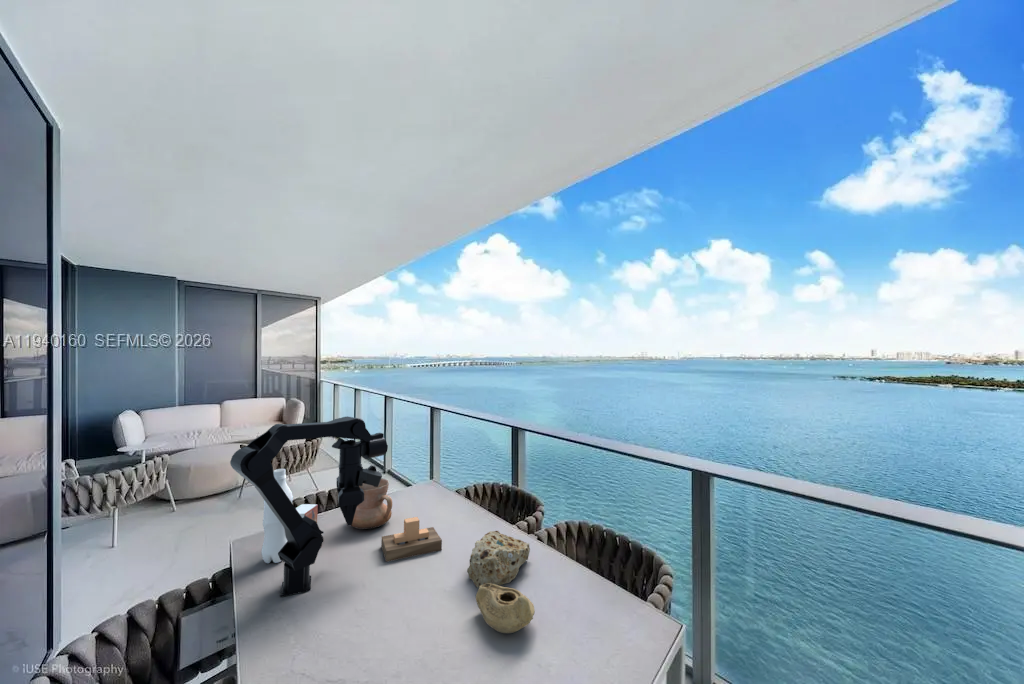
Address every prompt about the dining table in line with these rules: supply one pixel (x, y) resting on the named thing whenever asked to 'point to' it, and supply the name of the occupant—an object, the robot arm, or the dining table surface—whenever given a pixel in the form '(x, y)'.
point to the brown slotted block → (410, 546)
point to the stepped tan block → (411, 532)
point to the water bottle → (274, 524)
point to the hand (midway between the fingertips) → (348, 518)
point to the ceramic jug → (373, 507)
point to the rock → (496, 559)
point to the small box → (308, 511)
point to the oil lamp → (504, 608)
